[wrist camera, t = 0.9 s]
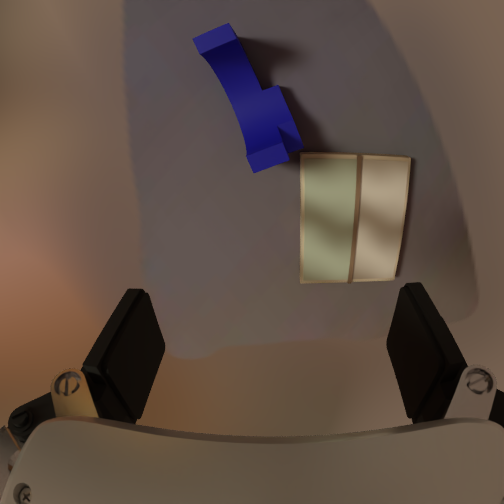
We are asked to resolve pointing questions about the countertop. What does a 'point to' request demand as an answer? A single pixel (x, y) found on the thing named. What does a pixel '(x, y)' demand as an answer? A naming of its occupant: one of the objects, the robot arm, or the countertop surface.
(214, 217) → the countertop surface
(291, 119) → the cable clip
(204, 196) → the countertop surface
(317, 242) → the board
